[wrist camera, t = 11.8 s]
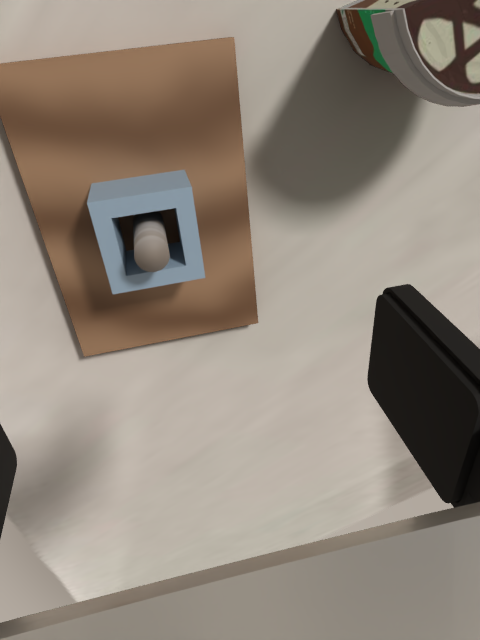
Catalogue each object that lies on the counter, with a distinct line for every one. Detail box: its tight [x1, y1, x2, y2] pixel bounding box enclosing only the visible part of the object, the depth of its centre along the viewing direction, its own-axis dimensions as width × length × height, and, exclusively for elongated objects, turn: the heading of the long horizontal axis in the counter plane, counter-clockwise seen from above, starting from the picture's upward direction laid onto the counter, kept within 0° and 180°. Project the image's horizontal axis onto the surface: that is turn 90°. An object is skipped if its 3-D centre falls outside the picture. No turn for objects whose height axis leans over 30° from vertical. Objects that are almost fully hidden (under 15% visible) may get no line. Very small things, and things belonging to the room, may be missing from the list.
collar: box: [87, 170, 205, 294], centre depth 30 cm, size 6×6×4 cm
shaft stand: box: [0, 37, 258, 357], centre depth 29 cm, size 20×14×7 cm
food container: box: [336, 0, 480, 107], centre depth 26 cm, size 12×6×10 cm, turn 110°
